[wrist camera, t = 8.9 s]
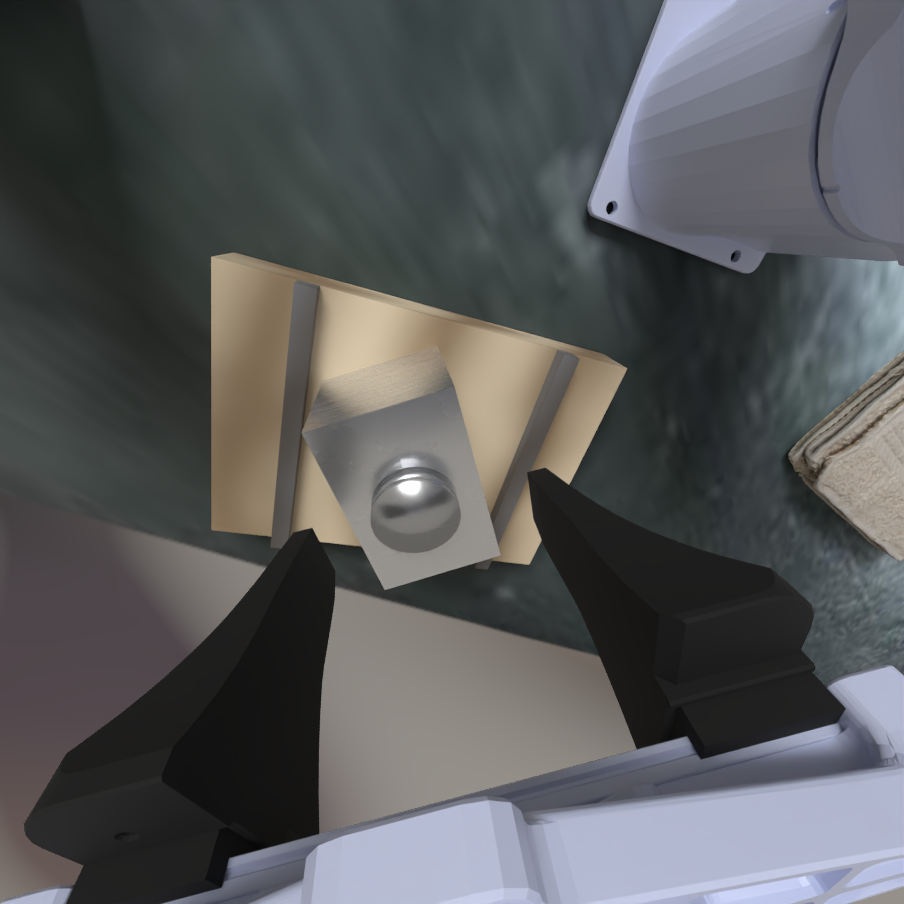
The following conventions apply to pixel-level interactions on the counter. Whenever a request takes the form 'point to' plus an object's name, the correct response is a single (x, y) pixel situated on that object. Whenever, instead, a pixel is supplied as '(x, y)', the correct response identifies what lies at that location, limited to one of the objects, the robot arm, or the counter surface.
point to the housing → (402, 467)
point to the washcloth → (862, 459)
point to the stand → (362, 345)
